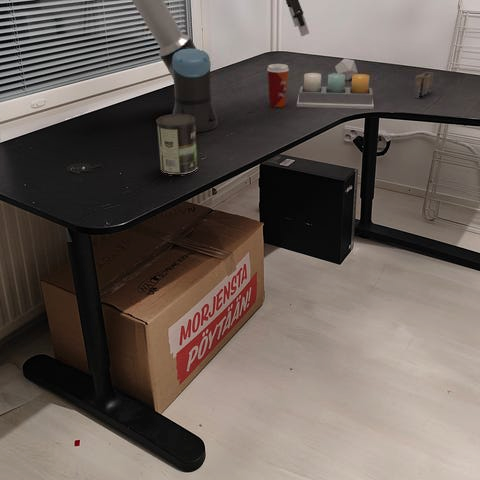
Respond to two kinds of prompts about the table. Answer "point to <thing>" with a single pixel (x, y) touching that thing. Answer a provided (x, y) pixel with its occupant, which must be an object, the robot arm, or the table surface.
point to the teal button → (336, 83)
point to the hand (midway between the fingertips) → (301, 29)
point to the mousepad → (81, 168)
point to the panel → (335, 99)
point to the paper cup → (277, 84)
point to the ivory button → (312, 82)
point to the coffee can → (177, 143)
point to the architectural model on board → (422, 83)
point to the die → (346, 68)
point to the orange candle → (360, 84)
